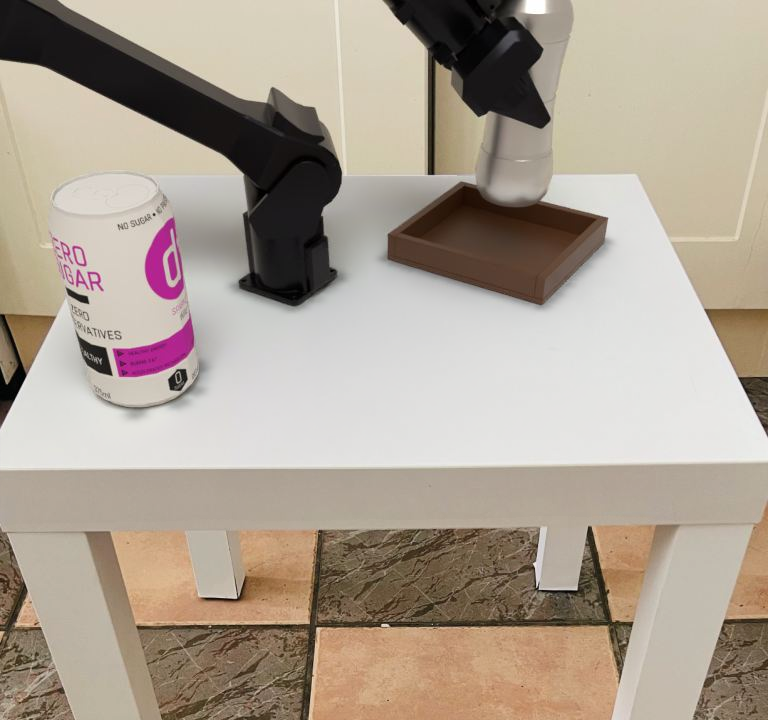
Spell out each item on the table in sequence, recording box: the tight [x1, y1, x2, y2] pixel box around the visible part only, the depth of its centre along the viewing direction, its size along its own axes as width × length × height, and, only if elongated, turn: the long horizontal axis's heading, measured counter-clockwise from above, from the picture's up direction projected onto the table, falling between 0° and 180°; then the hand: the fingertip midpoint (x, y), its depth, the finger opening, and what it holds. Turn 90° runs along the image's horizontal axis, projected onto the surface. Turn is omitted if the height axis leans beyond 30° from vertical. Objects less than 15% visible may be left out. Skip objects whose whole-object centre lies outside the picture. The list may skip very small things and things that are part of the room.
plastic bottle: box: [474, 0, 575, 207], centre depth 74 cm, size 6×7×20 cm
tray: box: [387, 180, 609, 306], centre depth 85 cm, size 16×14×2 cm
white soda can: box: [46, 169, 200, 408], centre depth 66 cm, size 8×8×15 cm
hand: (535, 111), depth 75 cm, fingers closed on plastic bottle, 5 cm apart
